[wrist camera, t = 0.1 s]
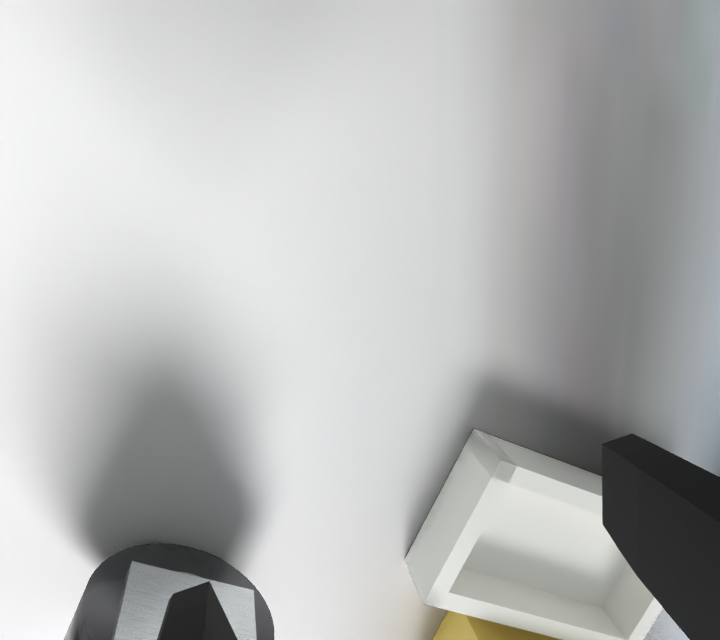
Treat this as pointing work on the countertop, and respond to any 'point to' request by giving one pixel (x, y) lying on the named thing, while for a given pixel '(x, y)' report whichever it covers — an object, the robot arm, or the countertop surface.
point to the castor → (163, 594)
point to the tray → (527, 548)
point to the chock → (481, 630)
